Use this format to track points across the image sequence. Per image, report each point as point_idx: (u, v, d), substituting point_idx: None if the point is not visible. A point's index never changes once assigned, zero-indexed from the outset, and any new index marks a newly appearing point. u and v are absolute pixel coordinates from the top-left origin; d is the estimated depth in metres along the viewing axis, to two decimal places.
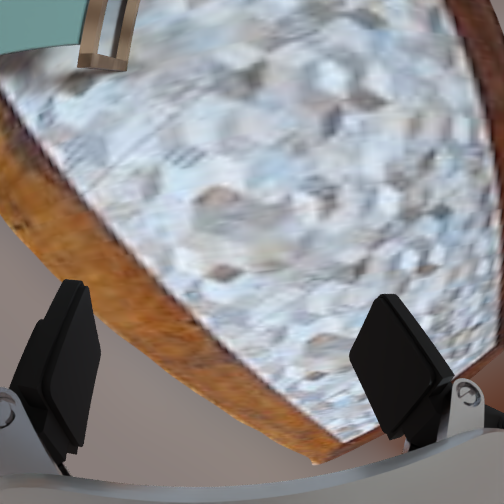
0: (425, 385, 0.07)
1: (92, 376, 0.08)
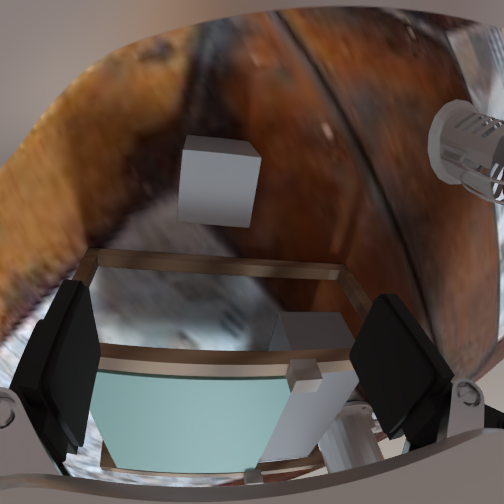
0: (425, 385, 0.07)
1: (92, 376, 0.08)
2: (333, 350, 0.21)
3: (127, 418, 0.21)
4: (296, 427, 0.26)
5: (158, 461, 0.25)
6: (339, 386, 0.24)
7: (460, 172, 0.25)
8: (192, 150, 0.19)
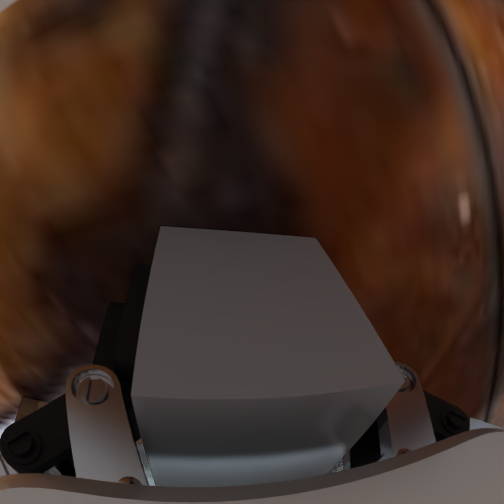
0: None
1: None
2: None
3: None
4: None
5: None
6: None
7: None
8: (168, 394, 0.05)
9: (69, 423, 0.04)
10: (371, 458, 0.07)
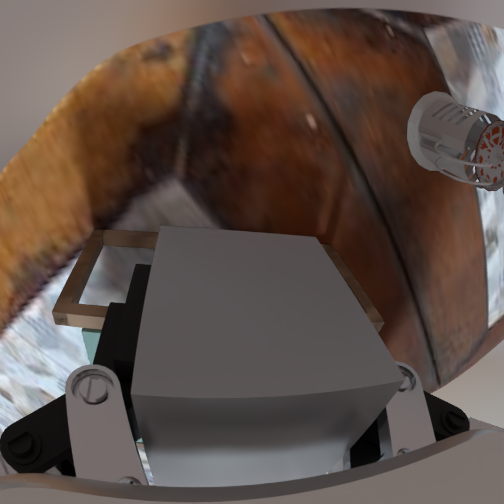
0: None
1: None
2: None
3: None
4: None
5: None
6: None
7: (437, 158, 0.28)
8: (168, 393, 0.05)
9: (69, 423, 0.04)
10: (371, 458, 0.07)
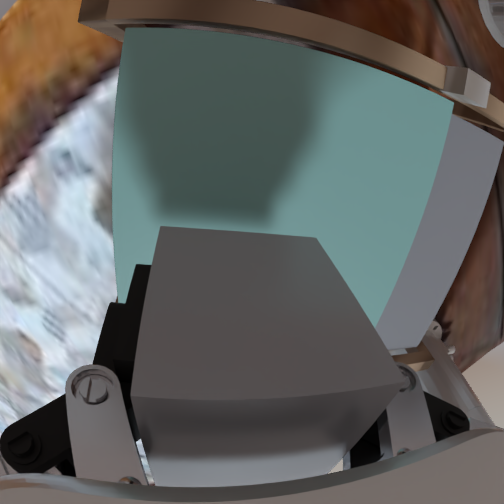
0: None
1: None
2: None
3: (184, 173, 0.12)
4: (428, 258, 0.18)
5: None
6: (480, 170, 0.15)
7: None
8: (168, 395, 0.04)
9: (69, 423, 0.04)
10: (371, 458, 0.07)
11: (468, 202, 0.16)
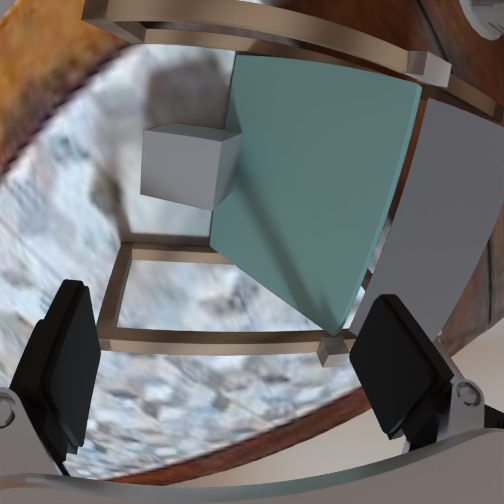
0: (425, 385, 0.07)
1: (92, 376, 0.08)
2: None
3: (250, 127, 0.23)
4: (419, 250, 0.17)
5: (248, 237, 0.27)
6: (485, 165, 0.13)
7: (491, 12, 0.18)
8: (172, 123, 0.24)
9: None
10: None
11: (469, 200, 0.14)
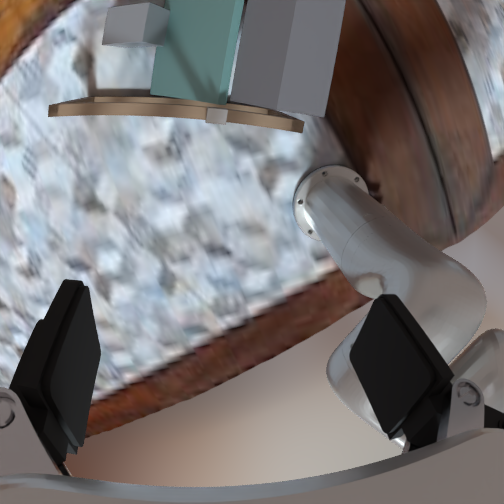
0: (425, 385, 0.07)
1: (92, 376, 0.08)
2: None
3: (174, 5, 0.29)
4: (261, 20, 0.22)
5: (170, 70, 0.32)
6: None
7: None
8: None
9: None
10: None
11: None
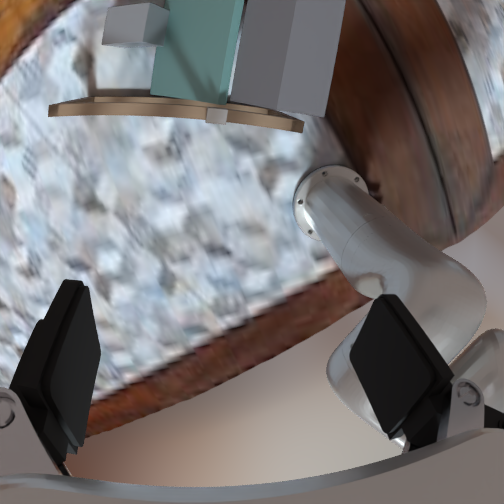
0: (425, 385, 0.07)
1: (92, 376, 0.08)
2: None
3: (174, 5, 0.29)
4: (261, 20, 0.22)
5: (170, 70, 0.32)
6: None
7: None
8: None
9: None
10: None
11: None
